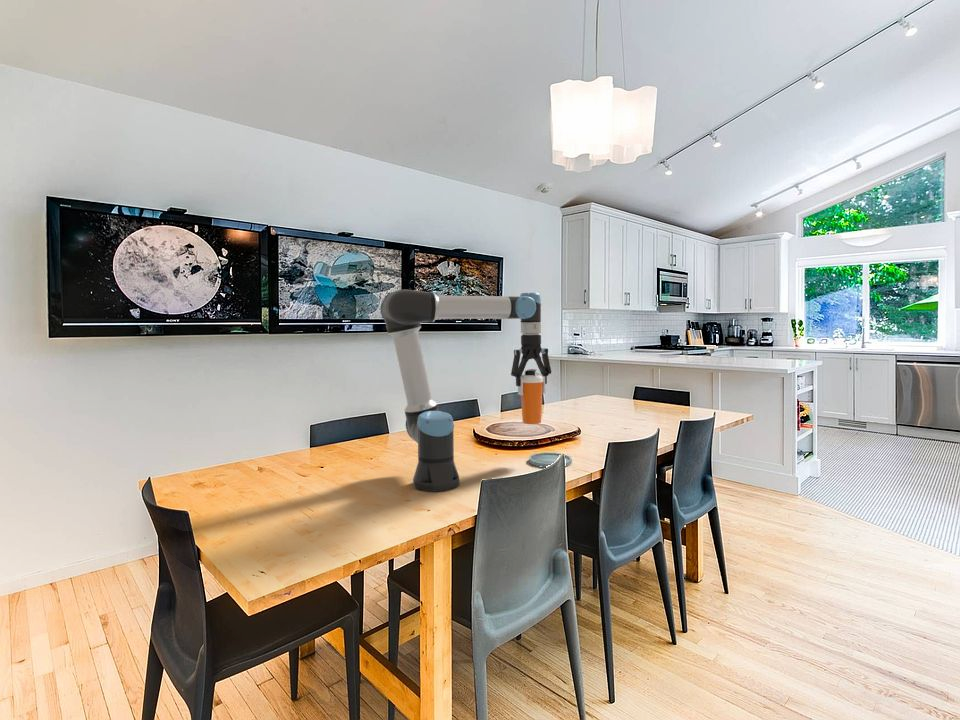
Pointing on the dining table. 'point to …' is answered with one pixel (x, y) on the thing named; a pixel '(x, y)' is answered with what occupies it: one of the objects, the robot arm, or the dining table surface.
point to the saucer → (547, 459)
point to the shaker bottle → (532, 397)
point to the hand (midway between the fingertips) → (531, 393)
